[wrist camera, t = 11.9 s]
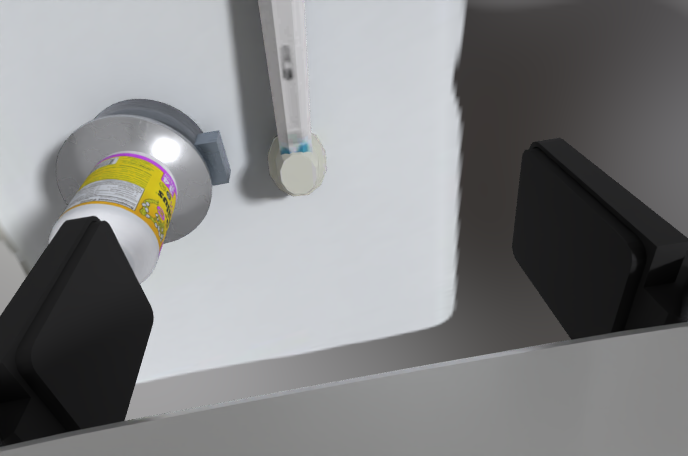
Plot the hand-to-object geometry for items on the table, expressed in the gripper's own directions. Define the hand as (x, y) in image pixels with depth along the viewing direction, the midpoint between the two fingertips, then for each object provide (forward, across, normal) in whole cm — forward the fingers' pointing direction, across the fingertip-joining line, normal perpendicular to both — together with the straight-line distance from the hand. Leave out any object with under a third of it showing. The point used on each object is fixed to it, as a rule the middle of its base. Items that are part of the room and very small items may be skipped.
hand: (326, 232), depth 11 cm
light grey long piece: (+33, +1, +3) cm, 33 cm away
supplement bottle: (+27, +15, +11) cm, 33 cm away
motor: (+32, +15, +11) cm, 37 cm away
